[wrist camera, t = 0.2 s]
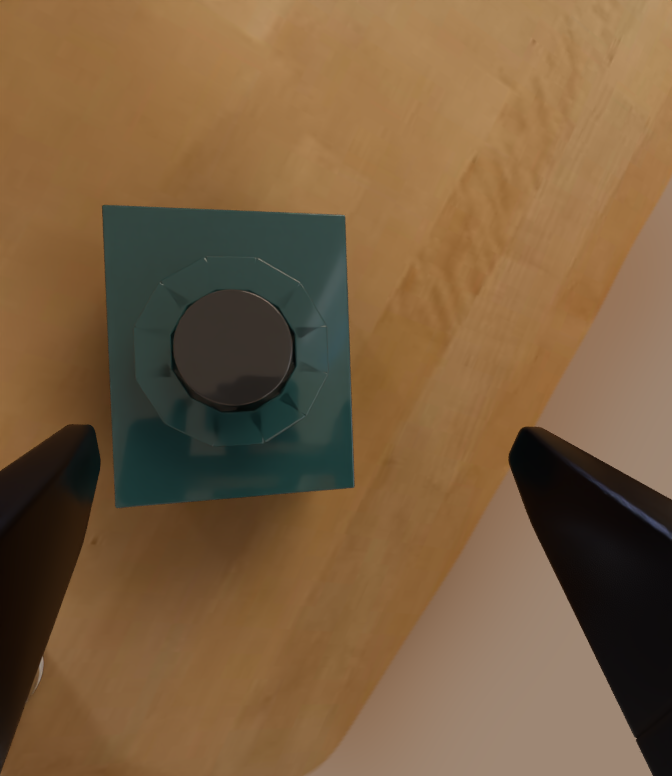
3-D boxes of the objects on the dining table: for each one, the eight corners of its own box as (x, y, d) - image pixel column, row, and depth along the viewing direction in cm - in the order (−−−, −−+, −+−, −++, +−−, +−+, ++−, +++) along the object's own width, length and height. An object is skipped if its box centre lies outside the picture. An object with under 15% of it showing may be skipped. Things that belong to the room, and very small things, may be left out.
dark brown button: (288, 401, 16) (295, 403, 14) (183, 405, 16) (175, 408, 13) (284, 300, 16) (290, 289, 14) (179, 300, 15) (170, 288, 13)
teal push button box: (323, 459, 25) (367, 499, 16) (152, 471, 23) (99, 524, 15) (316, 261, 25) (357, 196, 16) (143, 258, 23) (83, 181, 14)
